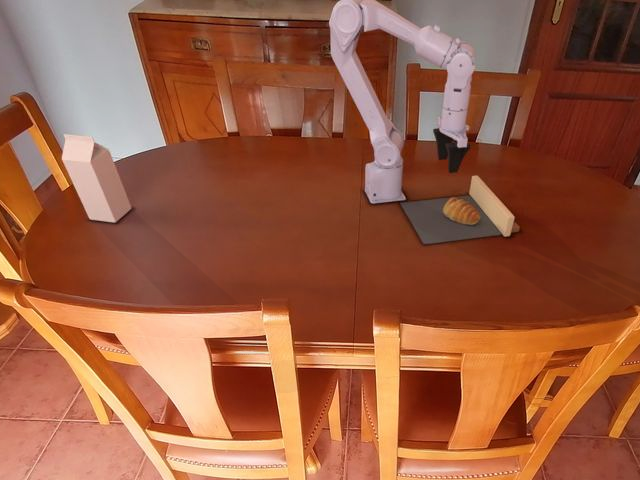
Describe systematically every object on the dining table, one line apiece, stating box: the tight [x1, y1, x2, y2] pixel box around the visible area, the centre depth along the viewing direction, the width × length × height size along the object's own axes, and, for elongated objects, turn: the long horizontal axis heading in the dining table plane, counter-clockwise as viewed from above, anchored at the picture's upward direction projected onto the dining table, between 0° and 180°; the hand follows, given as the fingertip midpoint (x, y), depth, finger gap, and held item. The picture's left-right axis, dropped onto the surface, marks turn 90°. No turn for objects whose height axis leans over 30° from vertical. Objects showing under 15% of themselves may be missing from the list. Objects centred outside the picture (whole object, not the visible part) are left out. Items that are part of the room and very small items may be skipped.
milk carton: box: [61, 133, 132, 223], centre depth 109 cm, size 7×7×19 cm
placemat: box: [399, 194, 503, 245], centre depth 116 cm, size 20×20×1 cm
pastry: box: [443, 196, 481, 225], centre depth 115 cm, size 9×7×4 cm
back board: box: [468, 175, 521, 238], centre depth 116 cm, size 4×22×5 cm, turn 14°
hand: (447, 165), depth 116 cm, fingers open, 7 cm apart
